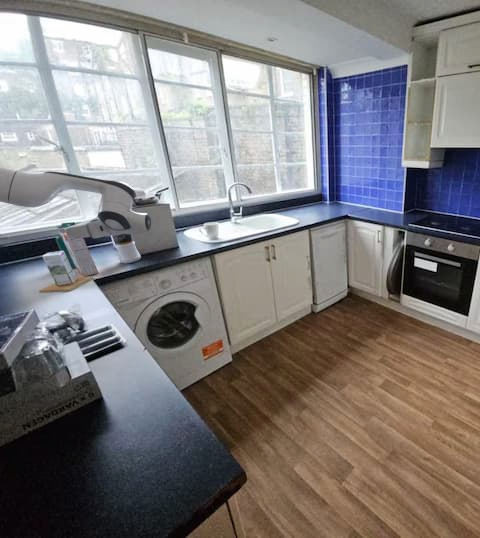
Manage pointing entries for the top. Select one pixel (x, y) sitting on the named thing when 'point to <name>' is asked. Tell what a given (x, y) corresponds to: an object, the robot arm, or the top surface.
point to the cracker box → (80, 255)
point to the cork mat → (68, 287)
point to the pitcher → (62, 244)
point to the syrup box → (59, 268)
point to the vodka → (126, 248)
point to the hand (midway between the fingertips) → (69, 227)
